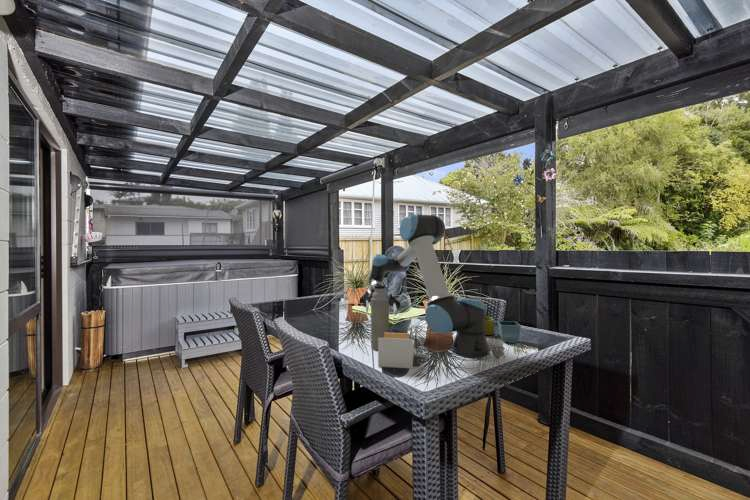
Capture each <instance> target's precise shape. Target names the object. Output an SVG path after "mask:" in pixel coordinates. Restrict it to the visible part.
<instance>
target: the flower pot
mask: <svg viewBox="0 0 750 500" xmlns="http://www.w3.org/2000/svg"><path fill="white" fill-rule="evenodd" d="M497 329H498V334H499V336H500V337H499V338H500V339H501V341H502V342H503V341H504V342H505V343H504V344H516V343H517V342H518V341H519V338H520V333H521V324H520V323H518V322H517V321H511V320H510V321H509V320H504V321H503V320H498V321H497ZM506 342H507V343H506ZM508 342H509V343H508Z"/></svg>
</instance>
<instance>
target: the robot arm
mask: <svg viewBox="0 0 750 500" xmlns="http://www.w3.org/2000/svg"><path fill="white" fill-rule="evenodd" d="M445 232H446V225H445V223H444V220H442V219H441V218H440V217H439V216H438V215H434V214H416V213H413V214H406V215H405V216H404V217H403V218H402V220H401V221H400V225H399V236H400V237H401V239H402V240H403V241H405V242H407V243H408V246H407V247H406V248H405V249H403V251H402V252H400V254H399V255H397V257H395V258H394V257H393V258H391V257H390V258H388V256H386V255H385V254H380V253H377V254H374V256H373V258H372V259H373V260H372V262H371V263H372V266H371V271H370V273H369V276H368V281H367V282H368V285H369V291H367V290H366V291H365V293H364V294H362V296H361V297H360V298H359V301H358V302H359V303H358V304H362V306H363V307H364V308H365V312H366V313H368V312H369V308H370V307H369V303H371V298H373V293H374V289H375V288H374V286H385V285H384V279H385V278H384V277H385V274H386V273H394V272H395V273H397V272H407V271H408V270H410V267H411V263H413V262H414V261H415V260H416V262H417V264H418V267H419V271H420V273H421V276H422V281H423V283H424V287H425V289H426V292H427V295H428V301H427V303H426V305H427V307H426V309H425V315H424V320H425V321H426V325H427V326H428V327H429V329H430V330H431V331H432V332H434V333H436V334H448V333H452V332H456V334H455V337H454V341H453V344H452V352H453V354H455V355H457V356H460V357H463V358H464V357H465V358H483V357H484V358H485V357H486V356H489V355H490V347H489V345H488V342H487V339H486V336H485V317H486V309H485V307H486V306H485V302H484V300H481V299H477V298H469V297H457V298H455V295H453V294H451V293H450V292H449V289H448V285H447V283H446V280H445V278H444V274H443V271H442V269H441V268H442V267H441V265H440V263H439V259H438V257H437V254H436V251H435V248H434V245H436V244H437V243H439V242H440V241H441V240H442V239H443V237H444V235H445ZM387 295H388V296H387V298H389V306H391V307H392V310H393V314H394V315H393V316H397V314H398V310H399V309H401V308H400V307H401V304H402V303H401V302H400V301H399V300H398V299H397V298H396V297H394V296H393V294H391V293H389V294H387Z"/></svg>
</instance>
